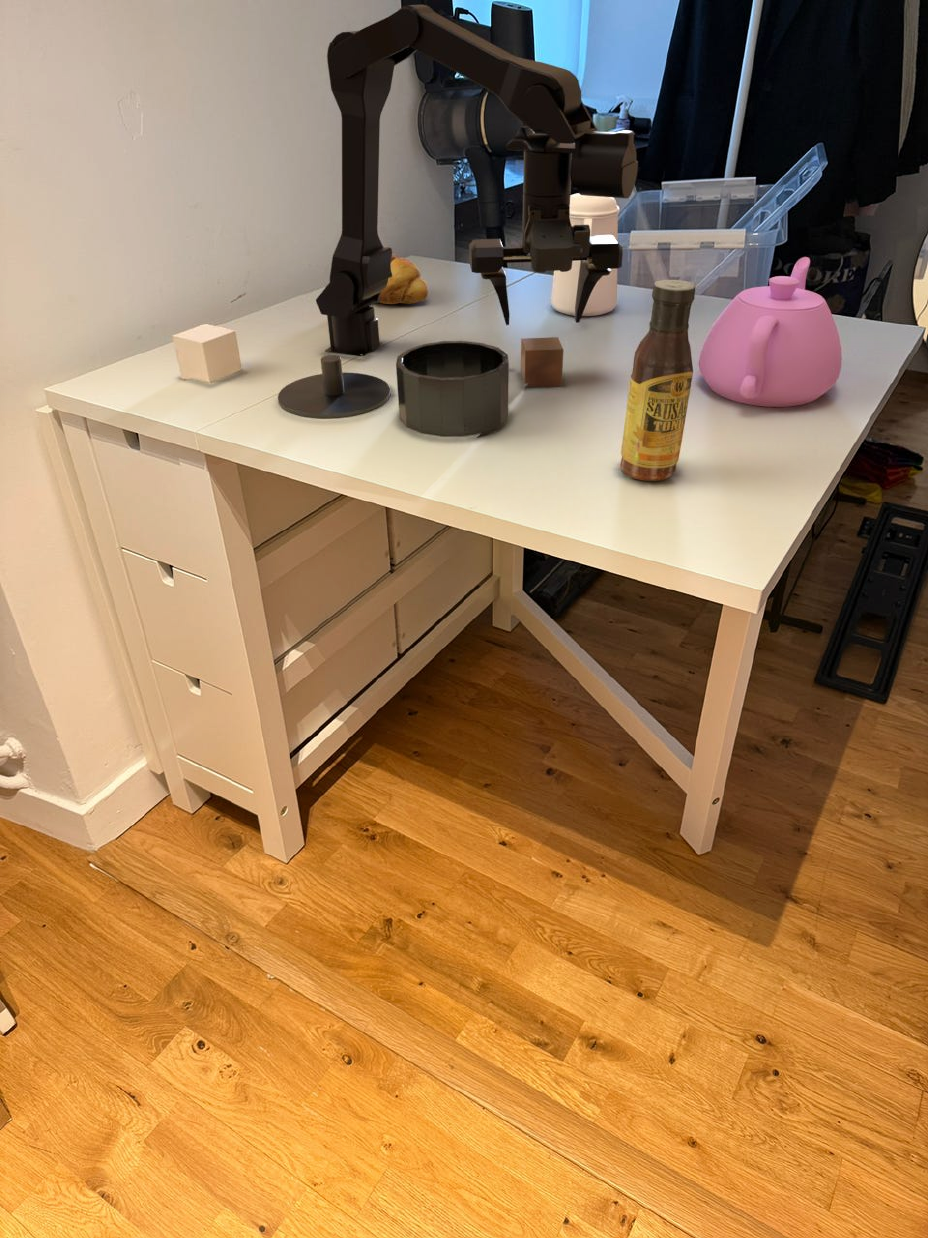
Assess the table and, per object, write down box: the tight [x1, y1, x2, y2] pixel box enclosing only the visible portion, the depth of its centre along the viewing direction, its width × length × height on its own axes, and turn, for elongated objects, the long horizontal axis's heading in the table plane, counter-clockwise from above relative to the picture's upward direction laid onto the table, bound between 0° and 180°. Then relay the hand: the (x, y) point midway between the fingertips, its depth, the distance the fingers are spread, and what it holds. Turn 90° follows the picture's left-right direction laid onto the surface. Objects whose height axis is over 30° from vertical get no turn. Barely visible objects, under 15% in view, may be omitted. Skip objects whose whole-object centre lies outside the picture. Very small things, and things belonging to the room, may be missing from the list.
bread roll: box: [378, 245, 429, 305], centre depth 148 cm, size 13×10×8 cm
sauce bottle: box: [620, 279, 696, 482], centre depth 90 cm, size 7×6×20 cm
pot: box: [395, 340, 510, 439], centre depth 106 cm, size 13×13×8 cm
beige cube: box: [171, 323, 243, 384], centre depth 121 cm, size 6×6×6 cm
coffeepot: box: [550, 192, 620, 317], centre depth 139 cm, size 11×25×19 cm, turn 172°
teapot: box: [697, 256, 843, 408], centre depth 112 cm, size 25×18×14 cm
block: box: [520, 336, 564, 388], centre depth 117 cm, size 5×5×5 cm
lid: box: [277, 354, 392, 419], centre depth 112 cm, size 15×15×6 cm
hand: (542, 322), depth 114 cm, fingers open, 9 cm apart
